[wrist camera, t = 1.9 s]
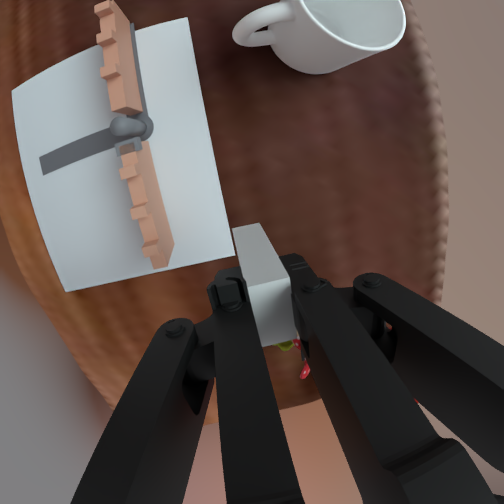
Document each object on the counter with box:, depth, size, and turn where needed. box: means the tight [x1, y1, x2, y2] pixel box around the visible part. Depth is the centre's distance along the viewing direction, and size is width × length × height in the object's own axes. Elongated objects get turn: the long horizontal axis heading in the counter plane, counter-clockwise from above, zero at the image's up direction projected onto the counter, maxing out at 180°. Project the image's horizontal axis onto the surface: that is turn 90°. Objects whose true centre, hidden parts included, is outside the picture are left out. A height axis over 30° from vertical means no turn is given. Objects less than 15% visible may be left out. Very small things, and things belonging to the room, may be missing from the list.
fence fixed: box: [95, 0, 147, 136], centre depth 17 cm, size 12×1×7 cm, turn 10°
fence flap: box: [114, 137, 175, 270], centre depth 22 cm, size 10×2×6 cm, turn 10°
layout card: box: [12, 17, 235, 292], centre depth 23 cm, size 25×20×1 cm
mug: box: [232, 0, 406, 74], centre depth 16 cm, size 12×8×10 cm
